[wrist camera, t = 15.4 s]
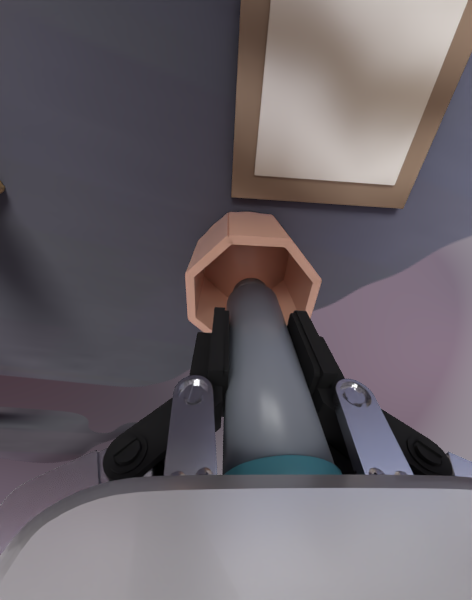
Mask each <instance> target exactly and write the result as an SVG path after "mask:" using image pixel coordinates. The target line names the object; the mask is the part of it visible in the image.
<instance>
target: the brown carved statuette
mask: <svg viewBox="0 0 472 600" xmlns="http://www.w3.org/2000/svg"><path fill="white" fill-rule="evenodd" d="M4 188H5V186H3V184H2V183H1V181H0V193H2V192H3V191H4Z"/></svg>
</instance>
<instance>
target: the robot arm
mask: <svg viewBox="0 0 472 600" xmlns="http://www.w3.org/2000/svg"><path fill="white" fill-rule="evenodd" d="M287 328H288V331H289V334H290V337H291V340H292V343H293V345H294V348H295V351H296V354H297V357H298V360H299V363H300V366H301V369H302V371H303V374H304V377H305V380H306V383H307V386H308V389H309V392H310V395H311V397H312V400H313V403H314V406H315V409H316V412H317V415H318V418H319V421H320V423H321V426H322V429H323V432H324V435H325V438H326V441H327V444H328V447H329V449H330V452H331V455H332V458H333V461H334V464H335V465H336V466H337V467H338V468H339V469H340V470H341V473H342V475H217V461H216V443H215V442H216V441H215V432H216V431H217V430H218V429H219V428H220V427H221V417H224V398H225V394H226V391H227V390H228V380H229V311H227V310H225V308H223V307H215V308H214V317H213V327H212V333H203V332H198V334H197V338H196V344H195V349H194V354H193V360H192V365H191V370H190V376H188V377H186V378H183V379H182V380H181V381H179V382H178V384H177V385H176V386H175V389H174V392H173V398H171V399H170V400H168V401H167V402H166V403H164V404H163V405H161V406H160V407H159V408H157V409H156V410H154V411H153V412H152V413H150V414H149V415H147V416H146V417H145V418H143V419H142V420H140V421H139V422H138V423H136V424H135V425H133V426H132V427H131V428H129V429H128V430H126V431H125V432H124V433H122V434H121V435H119V436H118V437H117V438H116V439H115V440H114V441H113V442H112V443H111V444H110V446H109V447H108V448H106V449H104V450H102V451H100V452H97V450H95V451H93V452H91V453H89V454H86V455H84V456H82V457H80V458H78V459H75V460H73V461H71V462H69V463H67V464H64V465H62V466H60V467H58V468H56V469H54V470H51V471H49V472H47V473H45V474H43V475H40V476H38V477H36V478H34V479H32V480H29V481H27V482H26V483H24V484H22V485H21V486H19V487H17V488H16V489H15V490H14V491H13V492H12V493H11V494H9V495H8V496H7V497H6V498H5V500H4V501H3V503H2V504H1V505H0V600H472V462H471V461H468V460H466V459H464V458H462V457H459V456H457V455H455V454H452V453H450V452H448V453H446V454H445V453H444V452H443V450H442V449H441V448H439V447H438V445H437V444H435V443H434V442H432V441H431V440H430V439H428V438H427V437H425V436H423V435H422V434H420V433H419V432H417V431H415V430H414V429H412V428H411V427H409V426H408V425H406V424H404V423H403V422H401V421H400V420H398V419H396V418H395V417H393V416H392V415H390V414H388V413H387V412H385V411H384V410H382V409H381V408H380V406H379V404H378V403H377V400H376V398H375V396H374V395H373V393H372V392H371V391H370V390H369V389H368V388H367V387H366V386H365V385H363V384H362V383H360V382H358V381H356V380H352V379H345V378H344V376H343V374H342V372H341V370H340V369H339V367H338V365H337V363H336V361H335V359H334V357H333V355H332V353H331V352H330V350H329V348H328V346H327V344H326V342H325V340H324V339H323V337H320V336H319V335H318V333H317V331H316V329H315V327H314V325H313V323H312V321H311V319H310V317H309V315H308V313H307V312H306V311H298V310H295V311H294V312H293V313H290V315H289V320H288V324H287Z"/></svg>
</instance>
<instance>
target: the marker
mask: <svg viewBox="0 0 472 600" xmlns="http://www.w3.org/2000/svg"><path fill="white" fill-rule="evenodd" d="M226 310H227V311H229V380H228V390H227V391H226V394H225V398H224V435H223V475H342V473H341V470H340V469H339V468H338V467H337V466H336V465H335V464H334V461H333V458H332V455H331V452H330V449H329V447H328V444H327V441H326V438H325V435H324V432H323V429H322V426H321V423H320V421H319V418H318V415H317V412H316V409H315V406H314V403H313V400H312V397H311V395H310V392H309V389H308V386H307V383H306V380H305V377H304V374H303V371H302V369H301V366H300V363H299V360H298V357H297V354H296V351H295V348H294V345H293V343H292V340H291V337H290V334H289V331H288V328H287V325H286V322H285V319H284V317H283V314H282V311H281V308H280V305H279V302H278V299H277V296H276V295H275V293H274V292H273V291H272V290H271V289H270V288H269V287H267V286H266V285H265V283H263V282H262V281H261V280H259V279H256V278H246V279H243V280H241V281H240V282H238V283H237V284H236V285H235V287H234V289H233V292H232V293H231V294H230V296H229V297H228V300H227V305H226Z"/></svg>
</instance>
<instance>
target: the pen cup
mask: <svg viewBox="0 0 472 600" xmlns="http://www.w3.org/2000/svg"><path fill="white" fill-rule="evenodd" d="M246 278H256V279H259V280H261V281H262V282H263V283H265V285H266V286H267V287H269V288H270V289H271V290H272V291H273V292H274V293H275V295H276V296H277V299H278V302H279V305H280V308H281V311H282V314H283V317H284V319H285V322H286V325H287V324H288V320H289V315H290V313H293V312H294V311H295V310H298V311H306V312H307V313H308V315H309V317H310V318H311V315H312V312H313V308H314V305H315V302H316V299H317V295H318V292H319V289H320V285H321V282H322V280H321V278H320V277H319V275H318V274H317V273H316V271H315V270H314V269H313V267H312V266H311V265H310V263H309V262H308V261H307V259H306V258H305V257H304V255H303V254H302V253H301V251H300V250H299V249H298V247H297V246H296V245H295V243H294V242H293V241H292V239H291V238H290V237H289V235H288V234H287V233H286V232H285V230H284V229H283V228H282V226H281V225H280V224H279V222H278V221H277V220H276V219H275V217H274V216H273V215H272V214H261V213H257V212H250V211H243V212H229V213H226V214H225V215H224V216H223V217H222V218H221V219H220V220H218V221H217V222H216V223H215V224H213V225H212V226H211V228H210V229H209V230H208V231H207V232H206V233H205V234H204V235H203V236H202V237H201V238H200V239H199V240H198V242H197V245H196V247H195V250H194V252H193V255H192V258H191V260H190V263H189V266H188V268H187V271H186V273H185V281H186V297H187V313H188V319H189V321H190V322H191V323H193V324H194V325H195V326H196V327H198V328H199V329H200V330H201V331H203V332H204V333H212V327H213V317H214V308H215V307H223V308H225V310H226V305H227V300H228V297H229V296H230V294H231V293H232V292H233V289H234V287H235V285H236V284H237V283H238V282H240V281H241V280H243V279H246Z"/></svg>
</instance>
